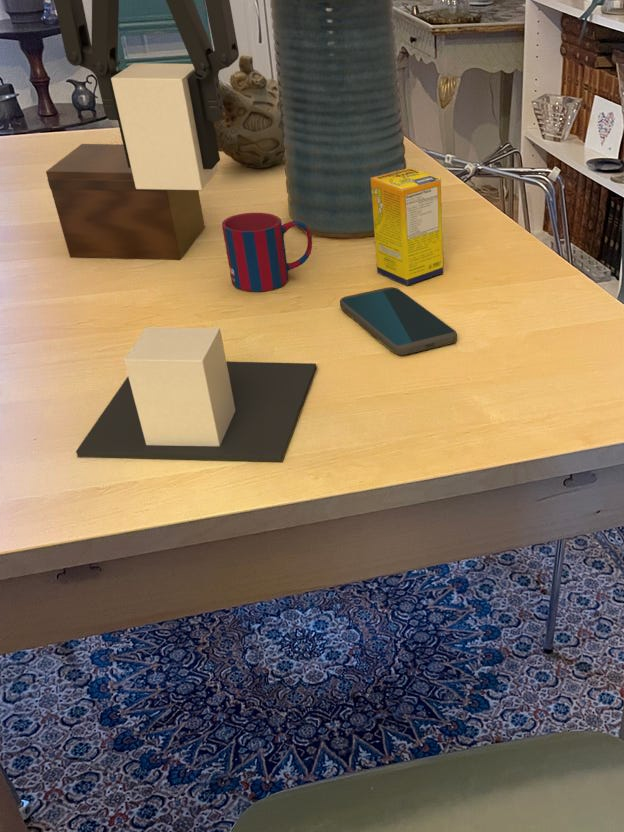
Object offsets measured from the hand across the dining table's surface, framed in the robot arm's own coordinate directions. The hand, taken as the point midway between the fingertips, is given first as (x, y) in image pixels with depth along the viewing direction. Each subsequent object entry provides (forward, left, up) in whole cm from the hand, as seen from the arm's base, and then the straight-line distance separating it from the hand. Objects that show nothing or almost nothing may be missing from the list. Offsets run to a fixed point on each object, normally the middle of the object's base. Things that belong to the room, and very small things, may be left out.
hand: (174, 163), depth 78 cm
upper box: (0, -9, -20) cm, 22 cm away
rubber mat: (0, -4, -20) cm, 21 cm away
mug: (0, +28, -20) cm, 34 cm away
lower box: (0, 0, -1) cm, 1 cm away
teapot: (-12, +74, -20) cm, 77 cm away
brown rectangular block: (-20, +40, -20) cm, 49 cm away
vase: (+6, +50, -20) cm, 54 cm away
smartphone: (+16, +16, -20) cm, 30 cm away
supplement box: (+16, +31, -20) cm, 40 cm away
